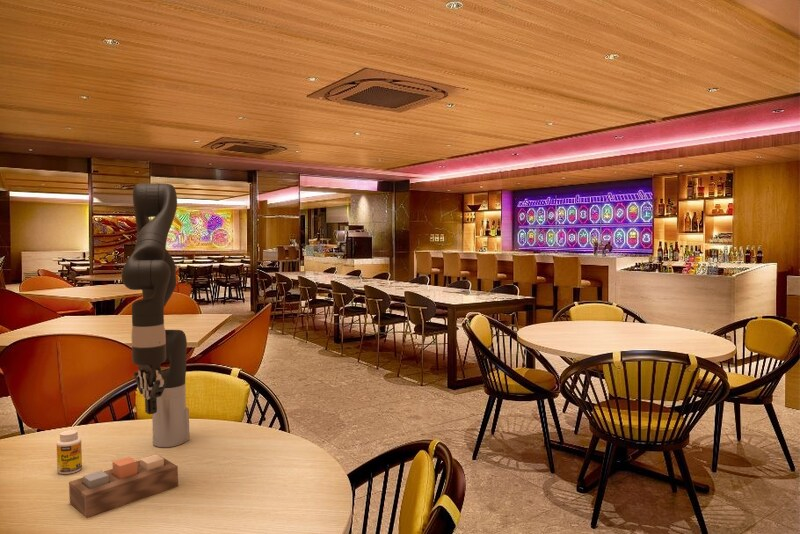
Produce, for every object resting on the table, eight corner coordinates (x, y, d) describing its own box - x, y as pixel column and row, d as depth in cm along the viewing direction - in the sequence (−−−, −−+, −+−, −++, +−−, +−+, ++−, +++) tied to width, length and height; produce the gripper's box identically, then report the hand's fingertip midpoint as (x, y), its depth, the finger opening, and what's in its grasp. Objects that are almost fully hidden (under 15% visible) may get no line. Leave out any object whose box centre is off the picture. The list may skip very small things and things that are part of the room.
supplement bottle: (58, 477, 147) (56, 437, 146) (56, 469, 152) (55, 431, 151) (83, 472, 150) (81, 433, 149) (81, 464, 155) (79, 426, 154)
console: (158, 474, 149) (158, 455, 149) (178, 485, 142) (177, 465, 142) (69, 502, 133) (68, 481, 133) (86, 517, 127) (85, 495, 126)
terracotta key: (130, 472, 140) (129, 456, 140) (137, 477, 138) (136, 461, 137) (112, 478, 137) (112, 461, 137) (120, 483, 135) (119, 466, 134)
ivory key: (156, 469, 145) (156, 454, 145) (164, 474, 143) (163, 458, 142) (140, 474, 142) (140, 459, 142) (148, 479, 140) (147, 463, 139)
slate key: (102, 487, 136) (101, 470, 135) (109, 492, 133) (108, 475, 133) (83, 492, 133) (83, 475, 132) (90, 498, 130) (89, 481, 130)
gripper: (177, 344, 138) (179, 415, 140) (151, 336, 147) (153, 403, 149) (146, 349, 133) (148, 423, 134) (121, 341, 142) (123, 410, 143)
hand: (151, 412), depth 141 cm, fingers closed
